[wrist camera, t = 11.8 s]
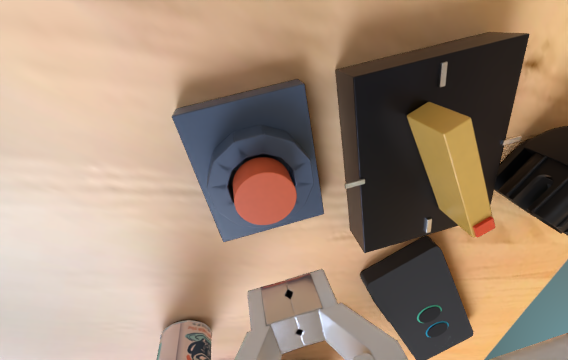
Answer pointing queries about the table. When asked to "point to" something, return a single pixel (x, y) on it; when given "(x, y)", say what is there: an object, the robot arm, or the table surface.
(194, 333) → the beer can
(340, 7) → the table surface
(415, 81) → the rotary switch
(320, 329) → the robot arm
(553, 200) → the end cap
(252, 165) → the button
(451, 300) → the smart home device
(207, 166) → the button box
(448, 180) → the rotary switch knob
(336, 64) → the table surface
